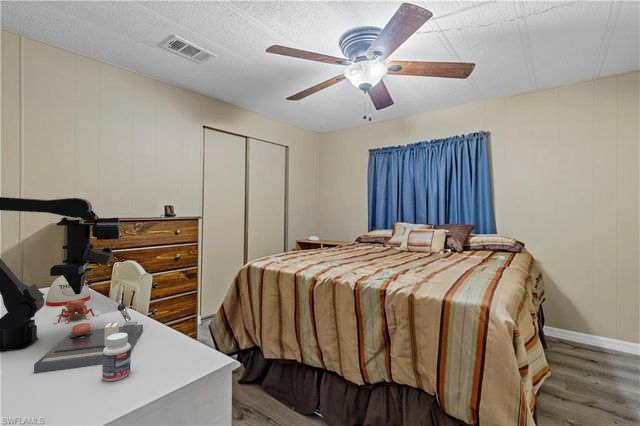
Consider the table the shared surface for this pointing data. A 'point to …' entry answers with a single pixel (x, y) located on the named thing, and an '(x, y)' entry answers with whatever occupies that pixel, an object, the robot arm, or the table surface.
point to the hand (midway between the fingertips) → (78, 294)
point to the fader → (111, 330)
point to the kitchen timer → (65, 293)
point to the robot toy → (75, 308)
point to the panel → (83, 349)
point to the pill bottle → (116, 357)
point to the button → (81, 329)
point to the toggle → (124, 312)
